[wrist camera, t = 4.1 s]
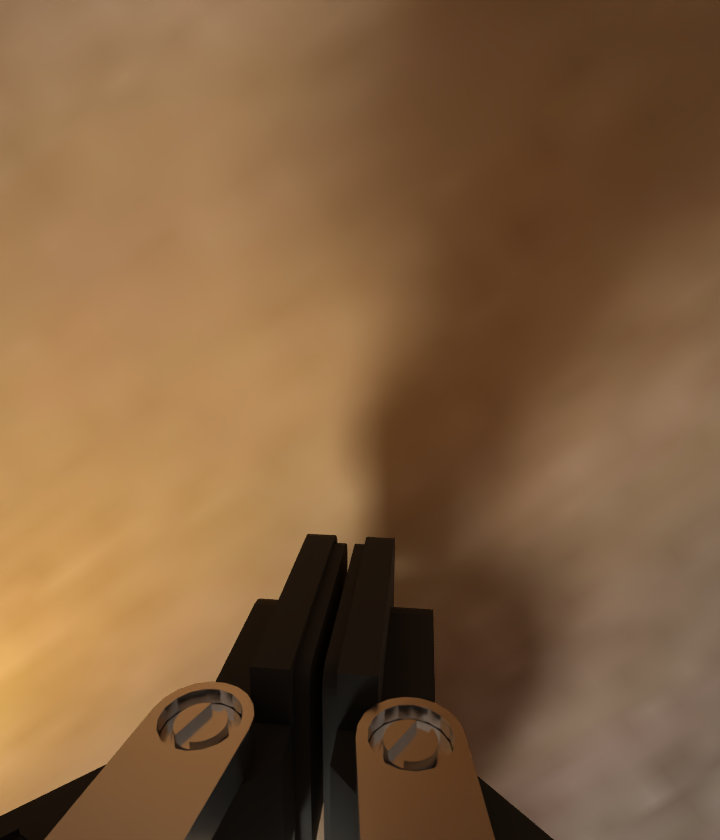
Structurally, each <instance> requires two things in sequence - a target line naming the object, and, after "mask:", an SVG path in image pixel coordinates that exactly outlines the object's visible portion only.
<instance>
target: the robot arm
mask: <svg viewBox="0 0 720 840" xmlns="http://www.w3.org/2000/svg"><path fill="white" fill-rule="evenodd" d="M394 562H395V538H376V537H366V541H365V544H355V545H354V549H353V553H352V557H351V561H350V565H349V569H348V573H347V544H346V543H337V537H336V535H318V534H308V535H307V536H306V538H305V541H304V543H303V545H302V548H301V550H300V552H299V554H298V557H297V559H296V561H295V563H294V566H293V568H292V570H291V573H290V575H289V577H288V579H287V582H286V584H285V586H284V589H283V591H282V593H281V595H280V598H279V600H274V599H258V600H257V601H256V603H255V604H254V606H253V608H252V610H251V612H250V614H249V616H248V618H247V620H246V622H245V624H244V626H243V628H242V630H241V632H240V634H239V636H238V638H237V640H236V642H235V644H234V646H233V648H232V650H231V652H230V654H229V656H228V658H227V660H226V662H225V664H224V666H223V668H222V670H221V672H220V674H219V676H218V678H217V680H216V682H205V683H197V684H193V685H190V686H187V687H184V688H181V689H178V690H177V691H175V692H173V693H171V694H170V695H168V696H166V697H165V698H163V699H162V700H161V701H160V702H159V703H158V704H157V705H156V706H155V707H154V708H153V709H152V710H151V711H150V713H149V714H148V715H147V716H146V717H145V719H144V720H143V721H142V722H141V723H140V725H139V726H138V727H137V728H136V729H135V731H134V732H133V733H132V734H131V735H130V737H129V738H128V739H127V740H126V741H125V743H124V744H123V745H122V746H121V748H120V749H119V750H118V751H117V752H116V754H115V755H114V756H113V757H112V758H111V760H110V761H109V762H108V763H107V764H106V765H104V766H102V767H100V768H98V769H96V770H94V771H92V772H90V773H88V774H86V775H84V776H82V777H80V778H78V779H75V780H73V781H71V782H69V783H67V784H65V785H63V786H61V787H59V788H57V789H55V790H53V791H51V792H49V793H47V794H45V795H43V796H41V797H39V798H37V799H35V800H33V801H30V802H28V803H26V804H24V805H22V806H20V807H18V808H16V809H14V810H12V811H10V812H8V813H6V814H4V815H2V816H0V840H316V839H317V834H318V829H319V823H320V818H321V813H322V807H323V803H324V840H553V839H552V838H551V837H550V836H549V835H547V834H546V833H545V832H544V831H543V830H541V829H540V828H539V827H538V826H537V825H535V824H534V823H533V822H532V821H531V820H529V819H528V818H527V817H526V816H525V815H524V814H522V813H521V812H520V811H519V810H518V809H516V808H515V807H514V806H513V805H512V804H510V803H509V802H508V801H507V800H506V799H504V798H503V797H502V796H501V795H500V794H498V793H497V792H496V791H495V790H494V789H492V788H491V787H490V786H489V785H488V784H486V783H485V782H484V781H483V780H482V779H480V778H479V777H478V776H477V773H476V770H475V766H474V763H473V759H472V755H471V752H470V748H469V745H468V741H467V738H466V734H465V732H464V730H463V728H462V726H461V724H460V722H459V721H458V720H457V719H456V718H455V717H454V716H453V715H452V713H451V712H450V711H448V710H447V709H445V708H443V707H442V706H440V705H438V704H436V703H435V679H434V632H433V610H431V609H415V608H399V607H394Z"/></svg>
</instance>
